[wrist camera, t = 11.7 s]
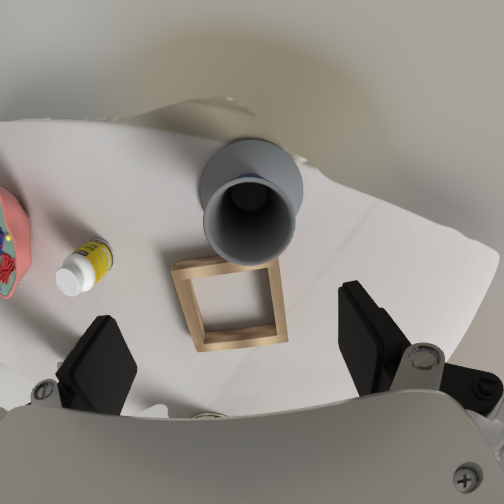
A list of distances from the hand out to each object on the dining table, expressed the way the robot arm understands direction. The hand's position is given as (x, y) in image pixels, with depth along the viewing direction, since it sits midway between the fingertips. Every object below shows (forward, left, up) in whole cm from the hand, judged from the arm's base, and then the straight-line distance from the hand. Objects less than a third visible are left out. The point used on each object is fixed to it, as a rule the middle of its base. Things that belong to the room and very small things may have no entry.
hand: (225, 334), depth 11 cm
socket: (-3, -13, -27) cm, 30 cm away
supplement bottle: (-22, -3, -27) cm, 35 cm away
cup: (+1, +1, -26) cm, 26 cm away
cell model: (-40, +5, -27) cm, 49 cm away
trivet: (+2, +2, -27) cm, 27 cm away
